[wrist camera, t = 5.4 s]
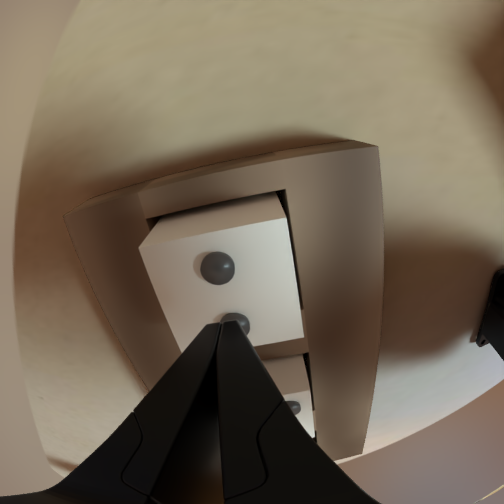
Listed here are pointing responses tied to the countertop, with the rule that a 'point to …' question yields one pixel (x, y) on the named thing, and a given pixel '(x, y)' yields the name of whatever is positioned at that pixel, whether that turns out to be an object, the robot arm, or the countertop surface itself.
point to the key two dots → (226, 269)
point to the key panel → (305, 264)
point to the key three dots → (293, 387)
